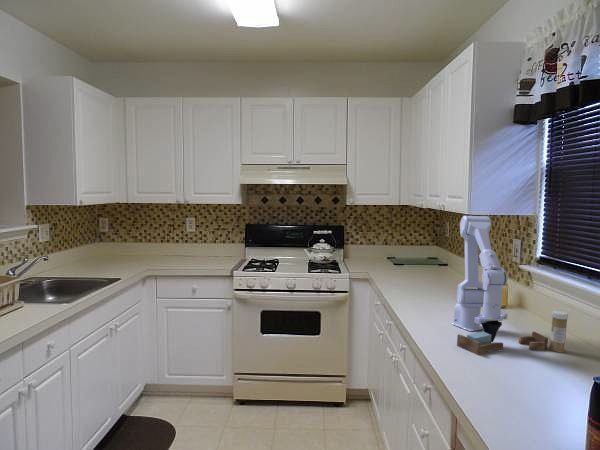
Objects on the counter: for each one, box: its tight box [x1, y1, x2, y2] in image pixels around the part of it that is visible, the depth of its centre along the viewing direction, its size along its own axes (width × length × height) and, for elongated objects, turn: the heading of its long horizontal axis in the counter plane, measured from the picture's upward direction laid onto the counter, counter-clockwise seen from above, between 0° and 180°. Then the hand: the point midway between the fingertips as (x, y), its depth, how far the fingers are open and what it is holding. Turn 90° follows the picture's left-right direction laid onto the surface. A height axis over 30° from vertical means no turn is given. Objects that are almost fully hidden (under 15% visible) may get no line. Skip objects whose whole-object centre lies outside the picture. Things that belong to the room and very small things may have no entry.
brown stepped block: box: [518, 331, 549, 351], centre depth 146 cm, size 6×6×4 cm
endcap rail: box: [456, 333, 504, 356], centre depth 143 cm, size 11×11×4 cm
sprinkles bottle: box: [549, 310, 569, 353], centre depth 142 cm, size 5×5×14 cm
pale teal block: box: [466, 331, 492, 345], centre depth 143 cm, size 4×8×4 cm, turn 118°
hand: (489, 341), depth 146 cm, fingers closed
